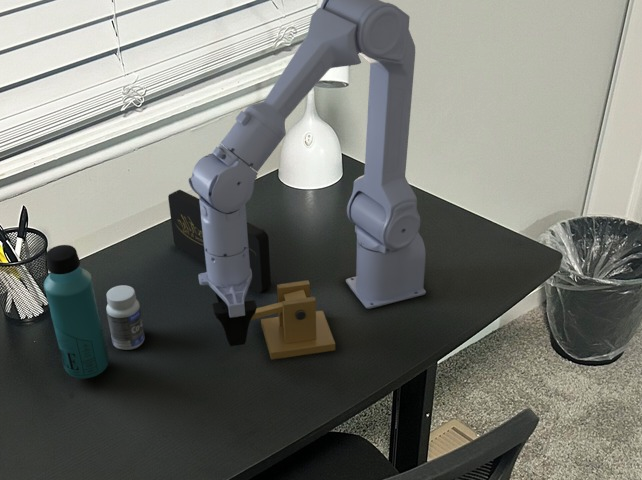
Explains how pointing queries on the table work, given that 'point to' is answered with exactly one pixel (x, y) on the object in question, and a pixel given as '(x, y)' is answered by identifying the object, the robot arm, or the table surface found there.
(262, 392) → the table surface
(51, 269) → the beverage bottle
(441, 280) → the table surface
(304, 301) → the wooden lever stand
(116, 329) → the pill bottle
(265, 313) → the handle
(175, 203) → the nameplate
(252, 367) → the table surface
